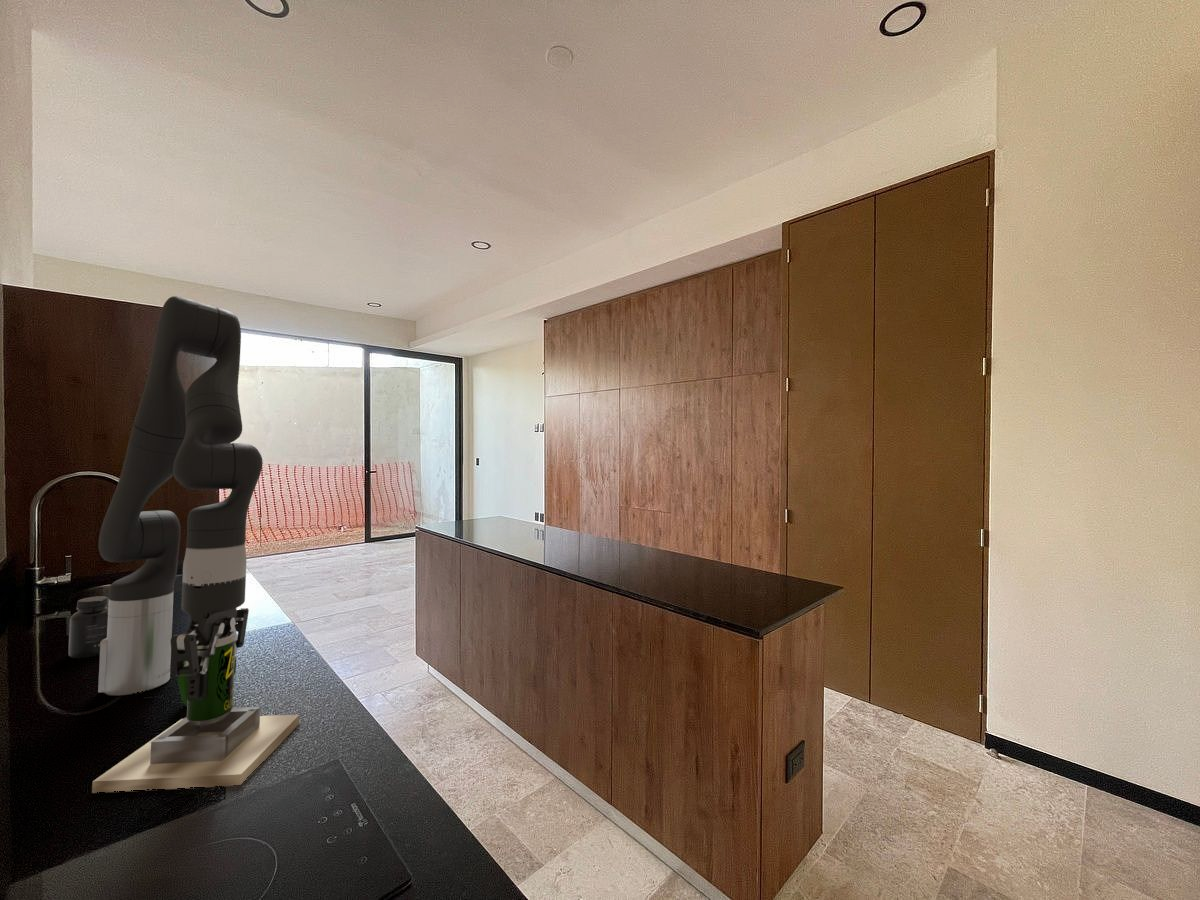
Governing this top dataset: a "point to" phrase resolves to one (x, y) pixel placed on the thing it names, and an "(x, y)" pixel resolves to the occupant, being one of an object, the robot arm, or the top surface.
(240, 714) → the collar board
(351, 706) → the top surface
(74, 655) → the supplement bottle
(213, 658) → the beer can
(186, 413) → the robot arm
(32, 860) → the top surface
